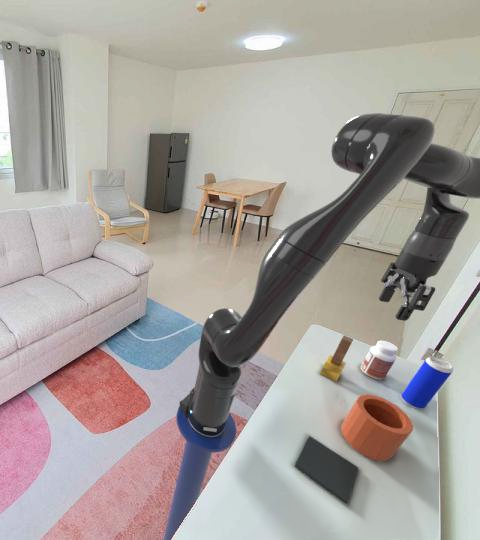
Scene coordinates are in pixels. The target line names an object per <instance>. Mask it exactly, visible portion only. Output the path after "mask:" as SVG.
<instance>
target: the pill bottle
mask: <svg viewBox="0 0 480 540" xmlns="http://www.w3.org/2000/svg"><path fill="white" fill-rule="evenodd" d="M375 344H376V345H373V346H371V347H370V349H369V350H368V353H367V354H366V356H365V358H364V360H363V361H362V363H361V365H360V370H361V372H362V373H363V374H365V375H366V376H368V377H369V378H372V379H375V380H384V379H385V378H386V377H387V374H388V373H389V372H390V370H391V369H392V367H393V365H394V364H395V362H396V360H397V355H396V354H397V353H398V350H399V348H398V347H397V346H396V345H395V344H393V343H392V342H389V341H386V340H378V341H377V342H376V343H375Z"/></svg>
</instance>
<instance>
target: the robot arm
mask: <svg viewBox="0 0 480 540" xmlns="http://www.w3.org/2000/svg"><path fill="white" fill-rule="evenodd" d="M435 133H436V127H435V124H434V122H433V121H432V120H430V119H429V118H424V117H422V116H414V115H404V114H403V115H402V114H392V113H382V112H373V113H365V114H361V115H360V114H359V115H357V116H356V117H353V118H351V119H350V120H348V121H347V122H346V123H345V124H344V125H343V126H342V127H341V128H340V130H339V131H338V132H337V134H336V135H335V138H334V139H333V143H332V145H331V158H332V161H333V162H334V164H336V166H337V167H339V168H340V169H342V170H344V171H346V172H350V173H353V174H358V176H357V178H356V179H355V180H354V181H353V182H352V183H350V185H349V186H348V187H347V188H346V189H345V191H343V192H342V193H341V194H340V195H339V196H338V197H336V198H335V199H334V200H332V201H330V202H329V203H327V204H325V205H324V206H322V207H319V208H318V209H316V210H314V211H313V212H310V213H308V214H307V215H305V216H303V217H301V218H298V219H297V220H295V221H294V222H292V223H291V224H289V225H287V226H286V227H285V228H284V229H283V230H282V231H281V233H280V234H279V235H278V237H277V238H276V239H275V240H274V242H273V243H272V244H271V246H270V248H269V249H267V251H266V253H265V255H264V257H263V258H262V261H261V263H260V265H259V269H258V273H257V279H256V284H255V289H254V293H253V296H252V299H251V302H250V304H249V306H248V308H247V309H246V310H245V312H244V314H243V315H241V314H240V313H239V312H238V311H236V310H234V309H232V308H225V307H224V308H219V309H217V310H215V311H213V312H212V313H211V314H209V315H208V316H207V318H206V320H205V321H204V323H203V325H202V330H201V335H200V339H199V346H198V353H197V354H198V363H199V365H198V369H197V375H196V378H195V383H194V387H193V388H192V389H190V391H189V393H188V394H187V395H186V396H185V397H184V398H183V399H181V400H179V406H180V407H179V406H178V408H179V410H180V411H182V412H183V413H184V414H185V417H186V418H187V419H188V422H189V424H190V426H191V427H192V429H193V430H194V431H195V432H196V433H198V434H199V435H201V436H204V437H207V438H216V437H218V436H220V435H221V434H222V433H223V431H224V429H225V425H226V421H227V418H228V415H229V413H230V412H231V408H232V405H233V402H234V399H235V395H236V392H237V390H238V385H239V383H240V380H241V376H242V367H241V366H243V365H245V364H247V363H248V362H250V361H251V360H252V359H254V357H255V356H256V355H257V354H258V352H259V351H260V350H261V349H262V347H263V346H264V345H265V343H266V341H267V340H268V338H269V337H270V336H271V334H272V332H273V331H274V329H275V328H276V327H277V325H278V324H279V321H280V320H282V318H283V316H284V315H285V314H286V312H287V311H288V310H289V308H291V306H292V305H293V303H294V302H295V301H296V300H297V299H298V297H300V295H301V294H302V292H303V291H304V290H305V289H306V288H307V287H308V286H309V284H310V283H311V282H312V281H313V280H314V279H315V278H316V277H317V276H318V275H319V274H320V272H321V271H322V269H323V268H325V267H326V265H327V264H328V262H329V261H330V260H331V258H333V256H334V255H335V253H337V251H338V249H339V248H340V247H341V246H342V245H343V244H344V243H345V242H346V240H347V239H348V238H349V237H350V235H351V234H352V233H353V232H354V231H355V230H356V229H357V227H358V226H359V225H360V224H361V223H362V222H363V220H364V219H366V217H367V216H368V215H369V214H370V213H371V212H372V211H373V210H374V209H375V208H376V207H377V206H378V205H379V204H380V203H382V201H383V200H384V199H385V198H386V197H387V196H388V195H389V194H390V193H391V192H392V191H393V190H394V189H395V188H396V187H397V186H398V185H399V184H400V183H401V182H402V181H403V180H405V181H408V182H411V183H413V184H416V185H419V186H422V187H426V195H425V201H424V205H423V211H422V213H421V216H420V217H419V219H418V221H417V223H416V225H415V227H414V229H413V230H412V232H411V233H410V234H409V235H408V237H407V239H406V241H405V243H404V244H403V247H402V248H401V251H400V252H399V255H398V256H397V257H396V260H395V262H390V263H389V265H388V267H387V268H386V270H385V272H384V274H383V275H382V278H381V279H380V281H381V283H383V285H382V286H383V288H382V290H381V293H380V295H379V296H378V300H379V301H380V302H383V303H389V302H390V301H391V300H392V297H393V295H394V294H395V293H396V290H397V289H399V291H400V297H401V298H402V305H400V307H399V309H398V311H397V313H396V314H395V317H394V318H396V320H398V321H402V322H403V321H405V322H407V321H408V320H409V319H410V317H411V316H412V314H413V313H414V311H420V312H424V311H425V310H426V308H427V306H428V305H429V302H430V300H431V299H432V297H433V295H434V294H435V292H436V287H434V286H429V285H428V284H427V280H428V279H429V278H431V277H435V276H437V275H438V273H439V271H440V270H441V268H442V267H443V265H444V263H445V262H446V260H447V258H448V256H449V255H450V254H451V251H452V250H453V248H454V246H455V243H456V241H457V238H458V237H459V235H460V233H461V232H462V231H463V228H464V227H465V226H466V224H467V222H468V221H469V217H470V213H469V211H467V210H465V209H463V208H461V207H460V206H456V204H455V205H454V204H453V203H452V201H451V195H452V196H454V197H455V196H456V197H461V198H467V199H472V200H480V157H477V156H470V155H467V154H466V153H463V152H461V151H459V150H457V149H454V148H452V147H448V146H445V145H441V144H437V143H432V142H433V140H434V137H435ZM390 276H391V277H390ZM389 277H390V278H389ZM410 299H411V300H410Z"/></svg>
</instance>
